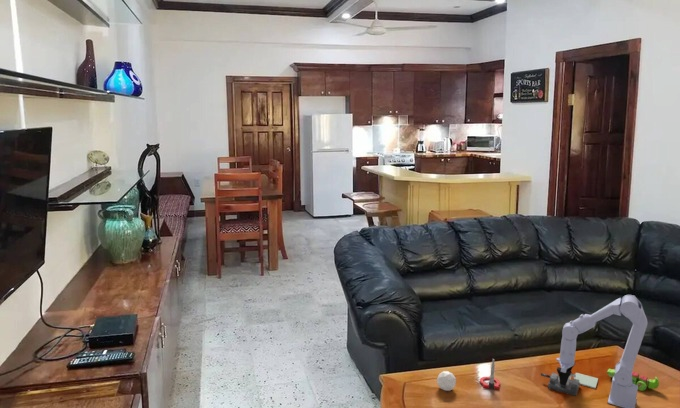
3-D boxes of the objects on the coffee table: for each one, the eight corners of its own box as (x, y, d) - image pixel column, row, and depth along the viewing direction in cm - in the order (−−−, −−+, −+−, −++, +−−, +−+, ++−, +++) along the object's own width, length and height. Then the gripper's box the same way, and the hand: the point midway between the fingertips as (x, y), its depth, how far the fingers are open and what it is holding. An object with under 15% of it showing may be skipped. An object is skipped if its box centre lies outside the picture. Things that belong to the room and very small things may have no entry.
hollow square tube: (575, 383, 221) (576, 372, 220) (573, 388, 217) (575, 377, 217) (559, 379, 224) (561, 368, 223) (557, 383, 221) (559, 372, 220)
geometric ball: (449, 393, 220) (462, 380, 218) (443, 396, 213) (456, 382, 211) (436, 379, 223) (448, 366, 222) (430, 381, 216) (443, 367, 215)
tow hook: (478, 378, 228) (481, 388, 219) (480, 350, 227) (483, 359, 217) (498, 380, 227) (501, 390, 218) (500, 352, 225) (504, 361, 216)
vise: (579, 386, 223) (581, 372, 221) (576, 396, 215) (577, 381, 214) (542, 376, 230) (543, 362, 229) (538, 385, 223) (539, 371, 222)
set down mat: (598, 379, 229) (598, 378, 229) (595, 388, 221) (595, 387, 221) (575, 373, 233) (575, 372, 233) (572, 382, 226) (572, 381, 226)
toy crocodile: (604, 379, 230) (606, 366, 229) (608, 373, 235) (610, 360, 234) (656, 396, 217) (658, 382, 216) (659, 389, 222) (661, 376, 221)
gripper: (560, 342, 227) (557, 371, 229) (554, 355, 215) (551, 385, 217) (578, 346, 223) (574, 375, 226) (572, 360, 211) (569, 390, 214)
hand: (564, 381), depth 221 cm, fingers open, 6 cm apart
